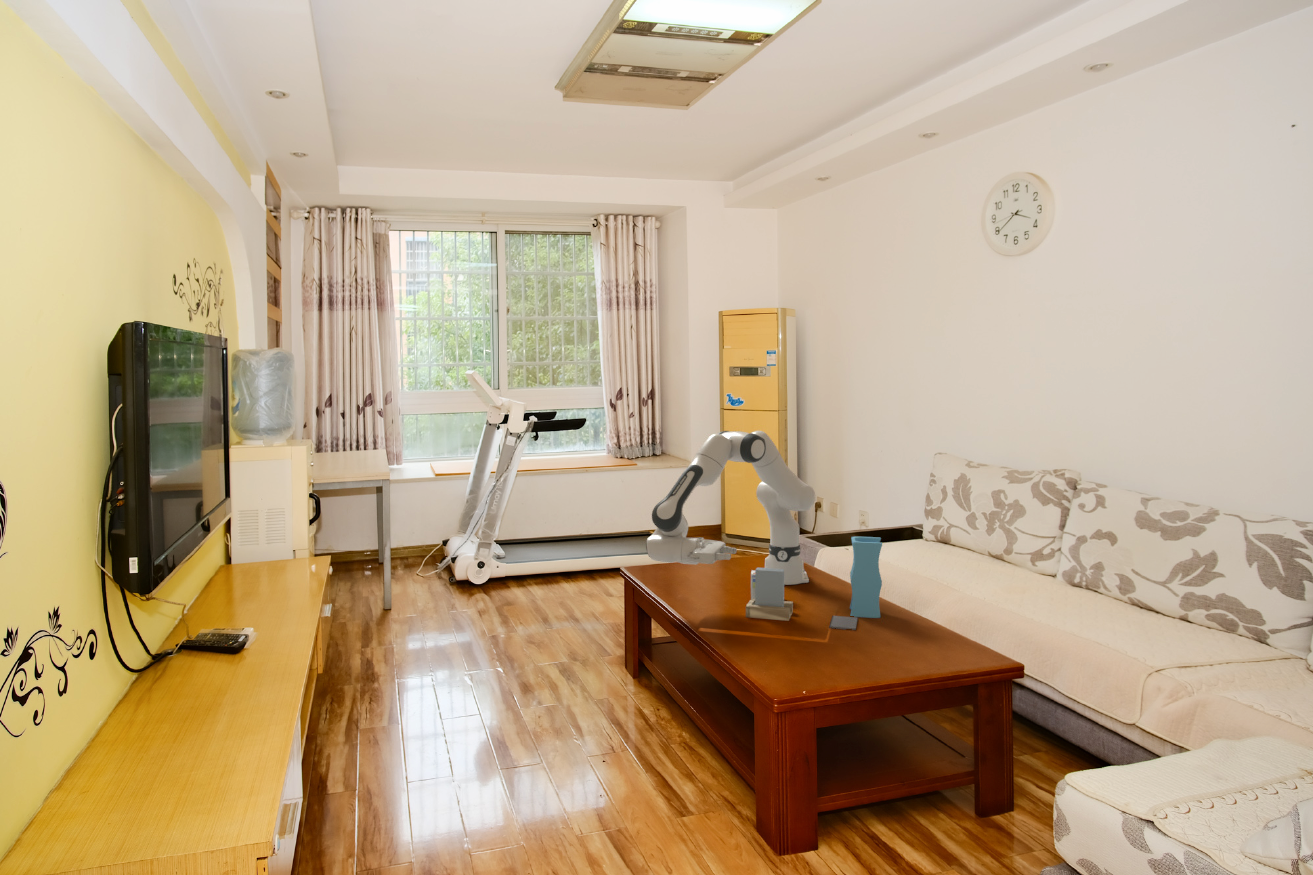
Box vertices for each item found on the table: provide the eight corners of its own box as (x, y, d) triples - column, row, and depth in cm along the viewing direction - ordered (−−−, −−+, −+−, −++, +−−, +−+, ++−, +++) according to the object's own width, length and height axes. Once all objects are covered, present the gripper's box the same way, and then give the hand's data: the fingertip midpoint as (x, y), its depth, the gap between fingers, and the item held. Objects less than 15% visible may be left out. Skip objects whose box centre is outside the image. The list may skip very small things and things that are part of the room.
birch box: (751, 611, 284) (751, 598, 284) (792, 614, 280) (792, 601, 280) (745, 619, 275) (745, 606, 274) (788, 623, 271) (788, 609, 271)
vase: (880, 618, 277) (882, 543, 275) (850, 616, 279) (851, 542, 277) (879, 609, 286) (880, 537, 284) (849, 608, 288) (851, 536, 286)
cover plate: (756, 611, 281) (757, 567, 279) (783, 614, 278) (784, 569, 277) (754, 614, 277) (755, 569, 276) (782, 617, 275) (782, 571, 273)
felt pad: (820, 616, 279) (820, 614, 279) (857, 619, 276) (857, 617, 275) (816, 626, 267) (816, 625, 267) (855, 630, 264) (855, 628, 264)
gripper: (685, 547, 273) (727, 550, 269) (700, 536, 293) (739, 538, 289) (685, 566, 274) (726, 570, 270) (699, 554, 293) (739, 557, 289)
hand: (733, 553), depth 279 cm, fingers open, 8 cm apart
